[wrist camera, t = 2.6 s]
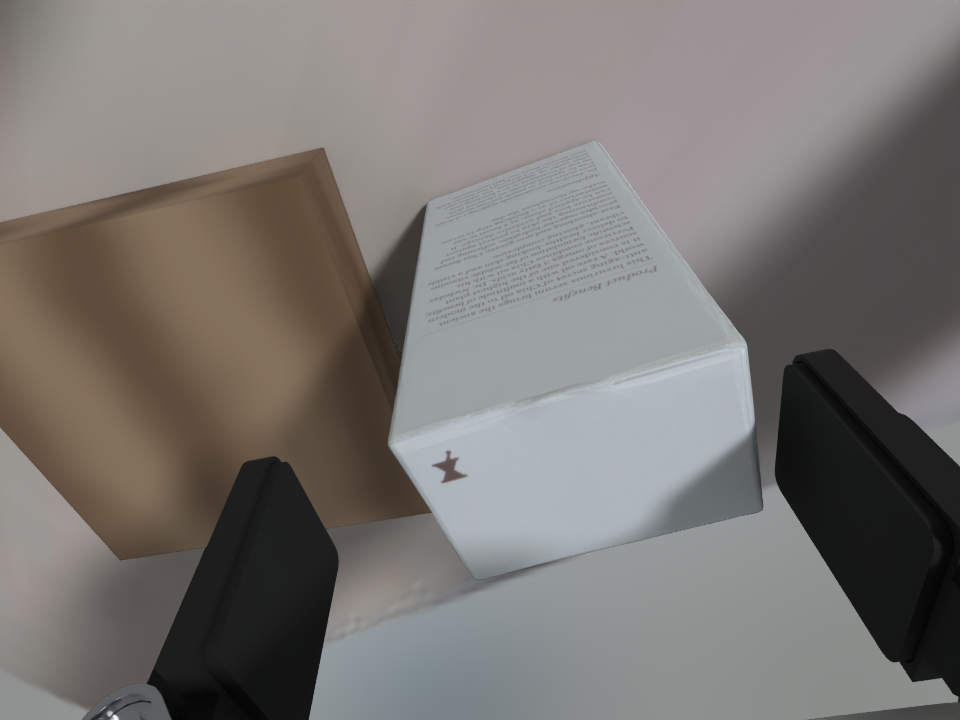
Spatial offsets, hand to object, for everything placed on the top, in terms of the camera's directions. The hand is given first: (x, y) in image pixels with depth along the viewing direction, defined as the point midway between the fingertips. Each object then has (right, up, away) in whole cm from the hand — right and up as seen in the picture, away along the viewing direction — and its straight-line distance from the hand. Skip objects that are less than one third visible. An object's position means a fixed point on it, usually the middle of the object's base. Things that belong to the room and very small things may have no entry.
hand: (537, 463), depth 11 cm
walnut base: (-11, +2, +12) cm, 17 cm away
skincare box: (+1, +7, +9) cm, 11 cm away
